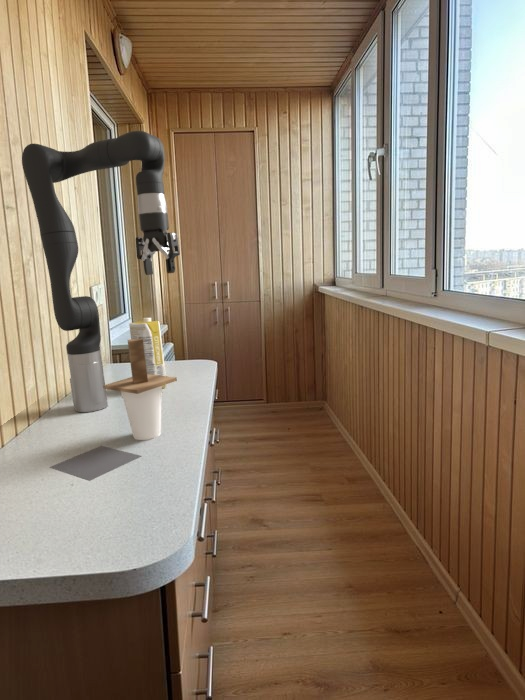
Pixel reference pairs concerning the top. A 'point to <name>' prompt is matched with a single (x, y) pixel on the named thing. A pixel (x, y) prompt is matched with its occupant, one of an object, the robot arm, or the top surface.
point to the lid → (139, 373)
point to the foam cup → (144, 413)
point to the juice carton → (150, 345)
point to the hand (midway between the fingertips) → (159, 274)
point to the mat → (95, 462)
